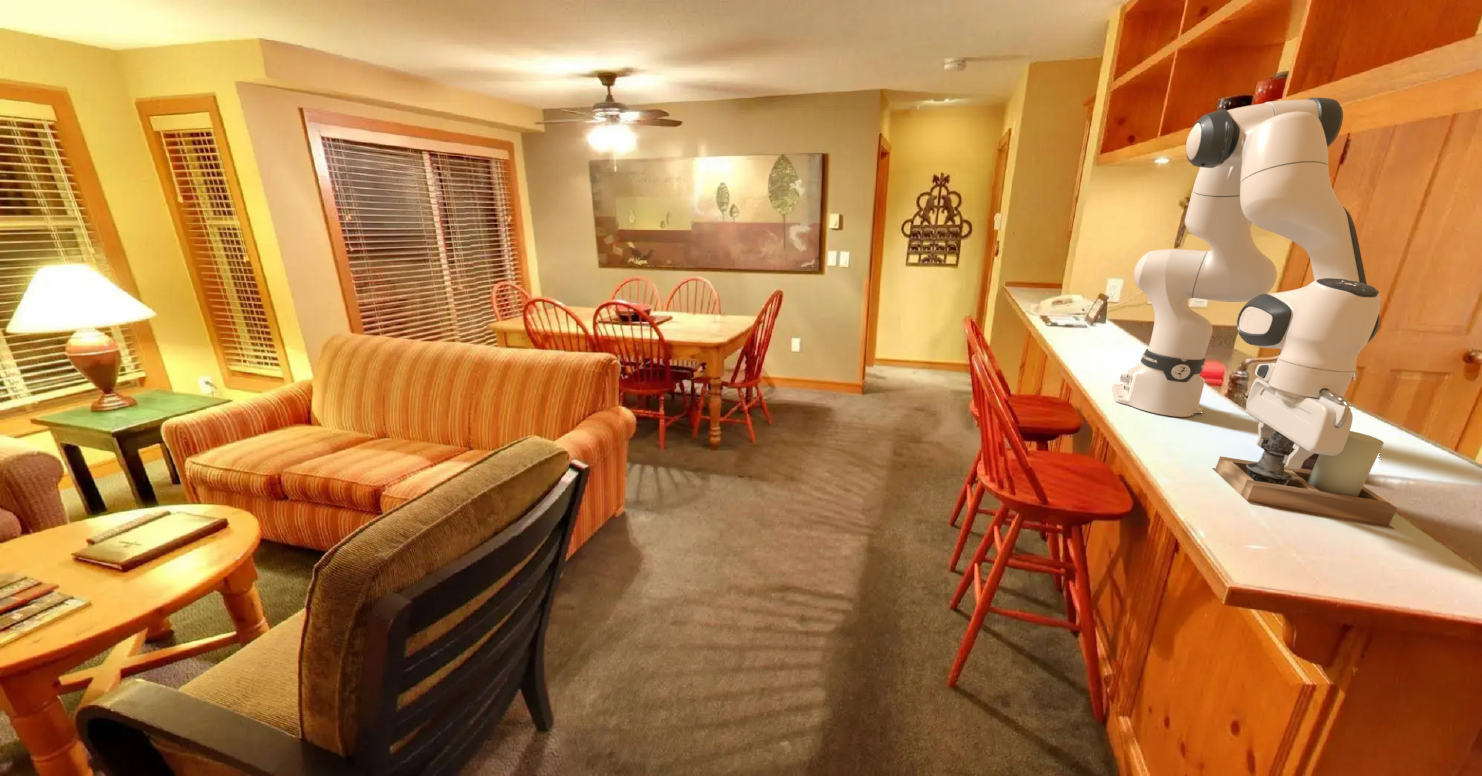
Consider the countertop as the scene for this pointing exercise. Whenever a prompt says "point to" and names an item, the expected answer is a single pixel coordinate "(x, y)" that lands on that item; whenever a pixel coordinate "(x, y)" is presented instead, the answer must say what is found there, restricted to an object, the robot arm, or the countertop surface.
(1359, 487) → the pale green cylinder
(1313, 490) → the divided wooden tray
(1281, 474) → the dark grey chess piece
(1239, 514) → the countertop surface
